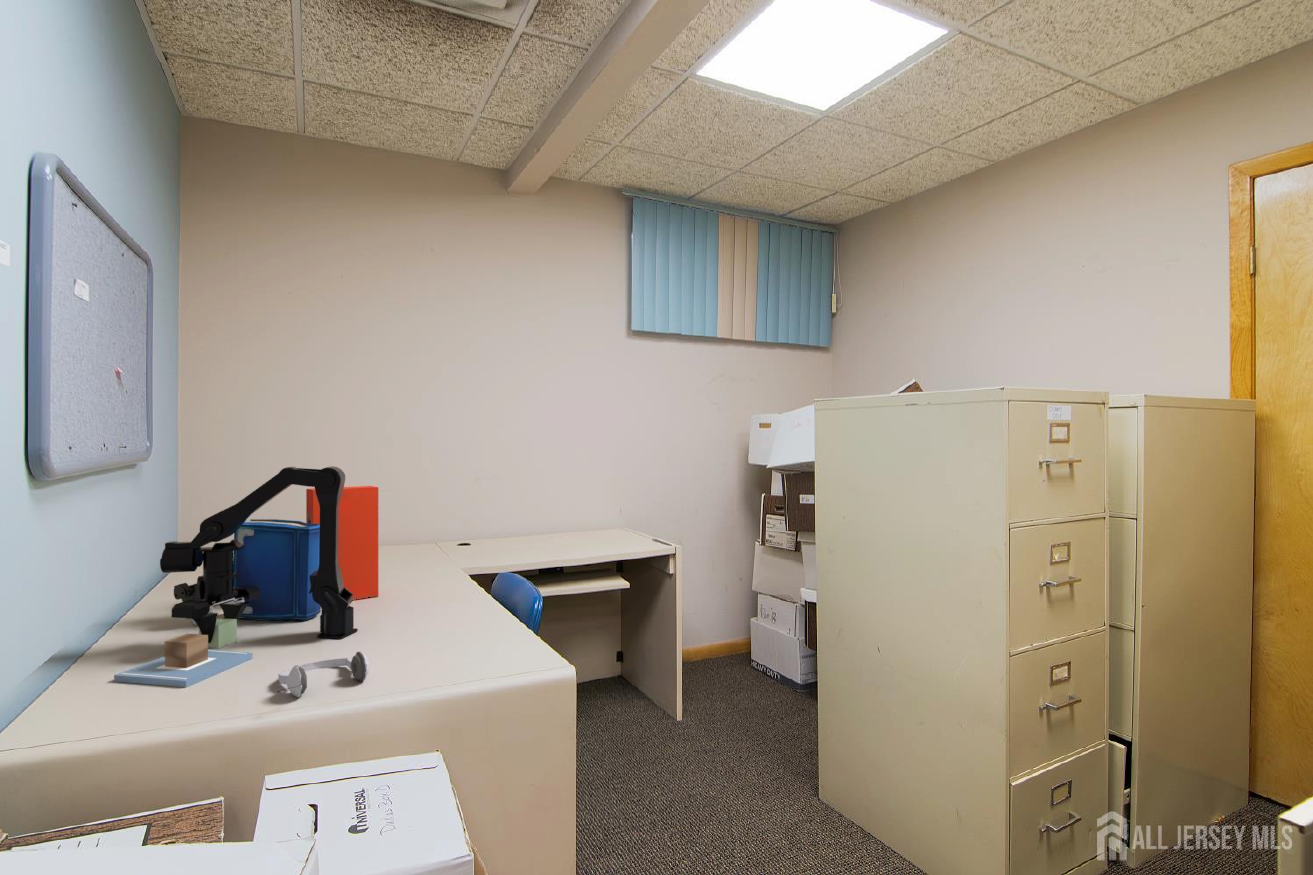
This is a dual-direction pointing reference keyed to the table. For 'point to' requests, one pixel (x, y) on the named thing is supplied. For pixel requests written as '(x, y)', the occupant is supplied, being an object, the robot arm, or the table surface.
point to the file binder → (354, 537)
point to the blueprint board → (183, 670)
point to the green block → (223, 633)
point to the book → (278, 568)
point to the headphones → (297, 674)
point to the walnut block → (186, 650)
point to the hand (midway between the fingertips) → (218, 639)
